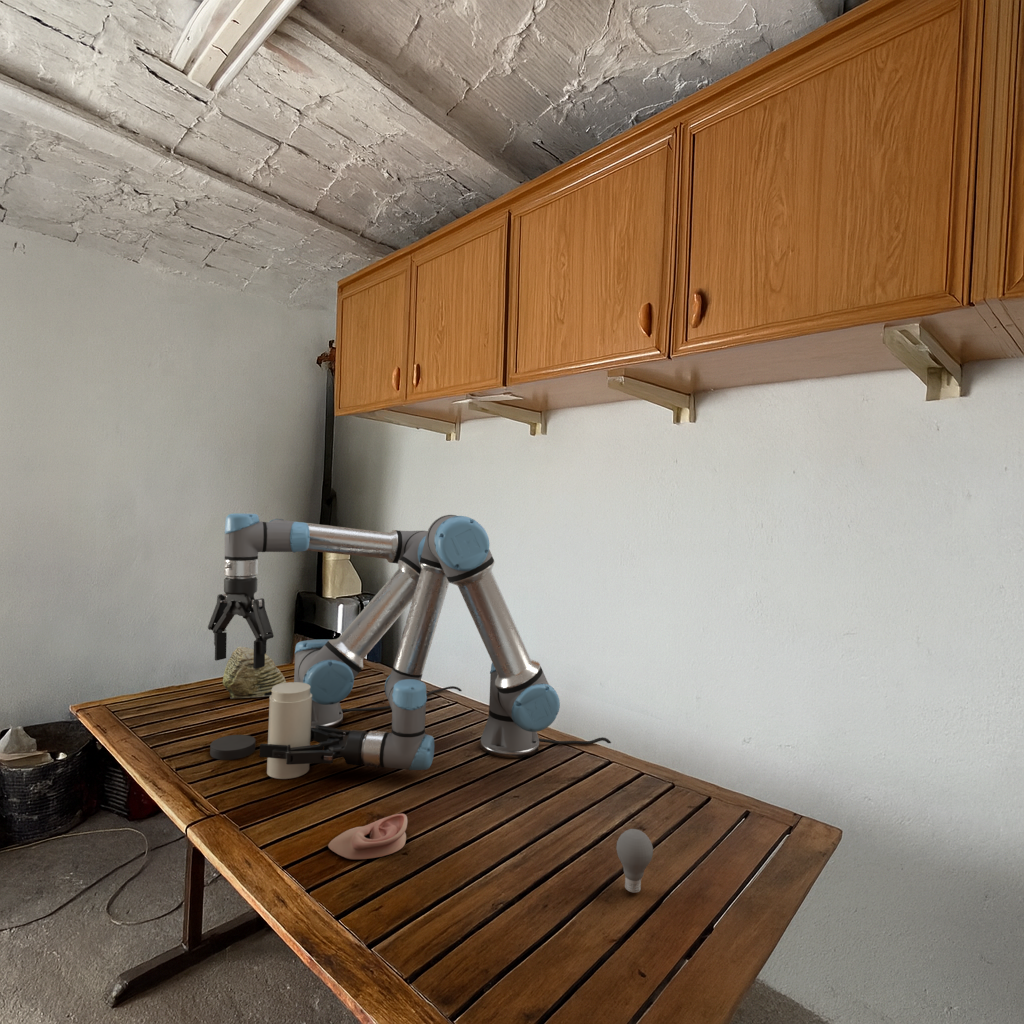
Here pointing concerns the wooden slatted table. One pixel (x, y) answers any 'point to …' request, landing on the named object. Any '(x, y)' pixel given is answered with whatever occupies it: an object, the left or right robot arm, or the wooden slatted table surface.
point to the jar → (289, 725)
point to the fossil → (250, 675)
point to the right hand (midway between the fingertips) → (271, 741)
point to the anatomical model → (372, 839)
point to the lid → (232, 747)
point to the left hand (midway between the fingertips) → (239, 663)
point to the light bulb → (634, 857)
